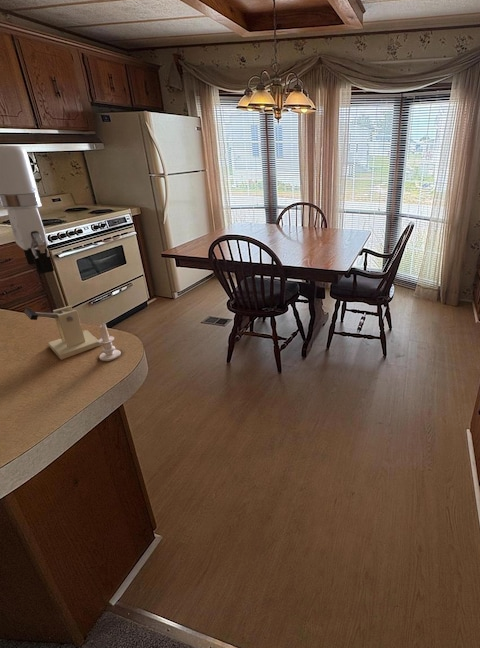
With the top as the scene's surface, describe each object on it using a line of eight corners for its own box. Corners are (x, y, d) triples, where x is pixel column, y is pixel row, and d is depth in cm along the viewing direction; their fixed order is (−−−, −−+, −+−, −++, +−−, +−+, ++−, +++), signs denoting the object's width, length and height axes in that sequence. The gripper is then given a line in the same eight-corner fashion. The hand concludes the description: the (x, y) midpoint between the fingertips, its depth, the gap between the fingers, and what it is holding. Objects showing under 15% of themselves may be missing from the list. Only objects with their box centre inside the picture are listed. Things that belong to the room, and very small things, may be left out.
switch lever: (30, 321, 88) (32, 312, 88) (23, 314, 92) (25, 306, 92) (74, 323, 97) (77, 315, 96) (67, 317, 100) (69, 309, 100)
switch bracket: (61, 359, 94) (49, 322, 90) (49, 346, 100) (37, 310, 96) (100, 345, 102) (91, 309, 97) (87, 334, 107) (78, 300, 103)
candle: (105, 363, 94) (97, 330, 90) (95, 357, 96) (87, 324, 92) (124, 354, 98) (117, 322, 94) (114, 348, 100) (106, 317, 96)
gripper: (-8, 197, 84) (14, 263, 91) (8, 207, 74) (31, 279, 81) (30, 195, 90) (48, 257, 96) (50, 203, 80) (68, 272, 86)
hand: (40, 267), depth 89 cm, fingers open, 9 cm apart
